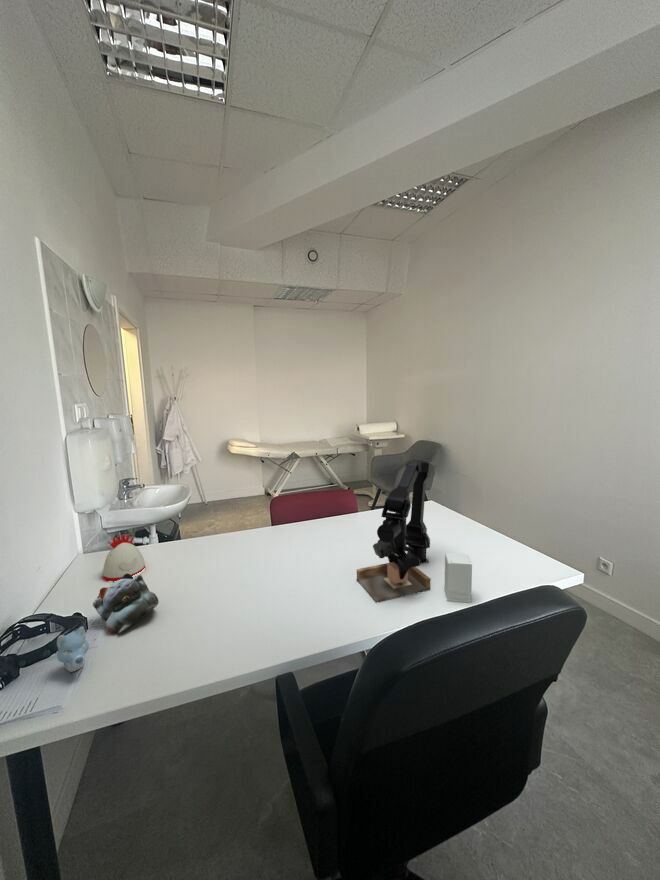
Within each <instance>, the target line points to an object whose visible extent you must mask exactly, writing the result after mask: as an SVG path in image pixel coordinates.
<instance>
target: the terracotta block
mask: <svg viewBox="0 0 660 880" xmlns="http://www.w3.org/2000/svg"><path fill="white" fill-rule="evenodd" d="M386 563H387V577H388V578H389V579H390V580H391V581H392V582H393V583H394V584H396V583H401V582H405V581H408V571H407V573H406V575H405V577H404V579H400V576H399V567H398V565H397V564H396V563H395V562H391V563H389V562H386Z"/></svg>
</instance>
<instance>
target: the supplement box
mask: <svg viewBox="0 0 660 880" xmlns="http://www.w3.org/2000/svg"><path fill="white" fill-rule="evenodd" d="M472 576H473V564H472V561H471V559H470V556H469V555H468V554H466V553H464V554H462V553H448V552H447V553H445V554H444V586H443V587H444V592H445V597H446V601H448V602H457V603H469V604H470V603H471V602H472V583H473V582H472V580H473V577H472Z"/></svg>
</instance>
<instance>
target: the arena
mask: <svg viewBox="0 0 660 880" xmlns="http://www.w3.org/2000/svg"><path fill="white" fill-rule="evenodd" d="M387 563H388V562H386V563H381V564H376V565H371V566H367V567H361V568H357V569H356V581H357V582H358V584H360V585H361V587H362V588H363V589H364V590H365V592H366V593H367V594H368V595H369V596H370V597H371V599H372V600H373V601H374V603H376V604H378V603H381V602H385V601H390V600H393V599H397V598H398V597H399V598H402V597H401V596H403V597H407V596H411V595H414V594H413V593H415V594H419V593H418V592H420V593H423V591H424V592H427V591H431V578H430V577H429V576H428V575H426V574H425V573H424V572H422V570H421V569H419V568H418V567H417V566H416V567H411V568H409V570H408V581H405V582H401V583H396V584H394V583H393V582H392V581H391V580H390V579H389V578H388V577H387ZM410 594H411V595H410ZM406 595H407V596H406ZM377 602H378V603H377Z"/></svg>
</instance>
